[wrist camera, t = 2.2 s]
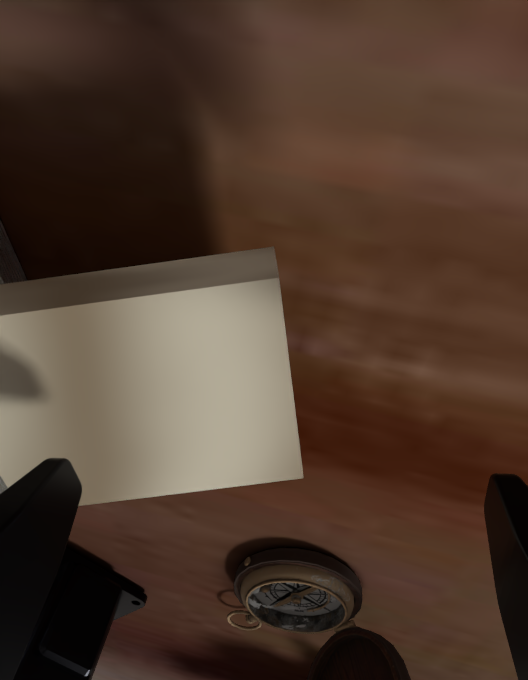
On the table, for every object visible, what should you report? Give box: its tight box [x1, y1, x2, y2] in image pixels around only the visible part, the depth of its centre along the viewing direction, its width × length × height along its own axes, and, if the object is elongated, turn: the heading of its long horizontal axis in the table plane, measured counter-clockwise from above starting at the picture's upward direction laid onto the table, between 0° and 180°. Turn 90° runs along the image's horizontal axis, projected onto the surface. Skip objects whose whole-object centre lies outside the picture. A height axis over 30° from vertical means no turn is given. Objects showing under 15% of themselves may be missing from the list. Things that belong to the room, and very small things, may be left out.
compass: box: [227, 548, 411, 680], centre depth 22 cm, size 8×8×7 cm
